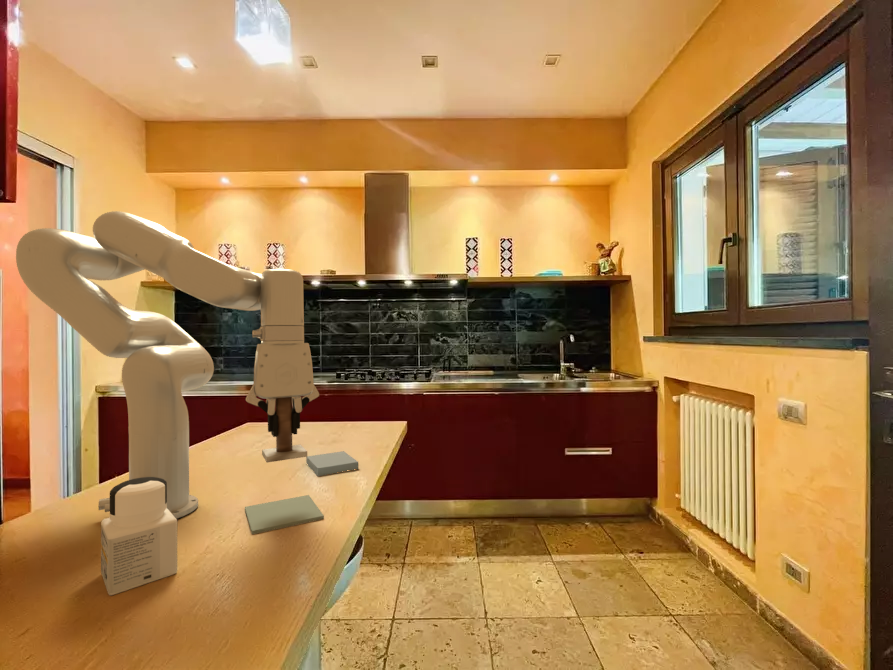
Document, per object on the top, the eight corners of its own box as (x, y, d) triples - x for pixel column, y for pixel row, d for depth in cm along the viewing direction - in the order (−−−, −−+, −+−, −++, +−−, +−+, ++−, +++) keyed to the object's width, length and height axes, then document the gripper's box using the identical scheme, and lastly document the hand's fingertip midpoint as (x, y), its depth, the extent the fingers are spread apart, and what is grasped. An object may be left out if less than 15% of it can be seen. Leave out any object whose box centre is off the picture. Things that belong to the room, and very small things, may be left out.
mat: (251, 534, 72) (251, 530, 72) (244, 509, 83) (244, 506, 83) (323, 518, 78) (323, 515, 78) (308, 497, 89) (308, 494, 89)
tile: (317, 468, 102) (358, 461, 108) (306, 456, 113) (343, 451, 118) (317, 477, 102) (358, 470, 108) (306, 465, 113) (343, 459, 118)
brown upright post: (266, 462, 76) (265, 394, 76) (262, 454, 81) (261, 391, 81) (307, 456, 80) (306, 391, 80) (300, 449, 85) (299, 388, 85)
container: (100, 574, 60) (100, 481, 60) (165, 554, 66) (164, 469, 66) (108, 597, 55) (108, 495, 55) (178, 573, 60) (177, 481, 60)
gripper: (236, 336, 73) (237, 444, 73) (331, 335, 81) (333, 432, 81) (233, 336, 80) (234, 436, 80) (321, 335, 88) (322, 425, 88)
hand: (284, 433), depth 81 cm, fingers closed on brown upright post, 2 cm apart
